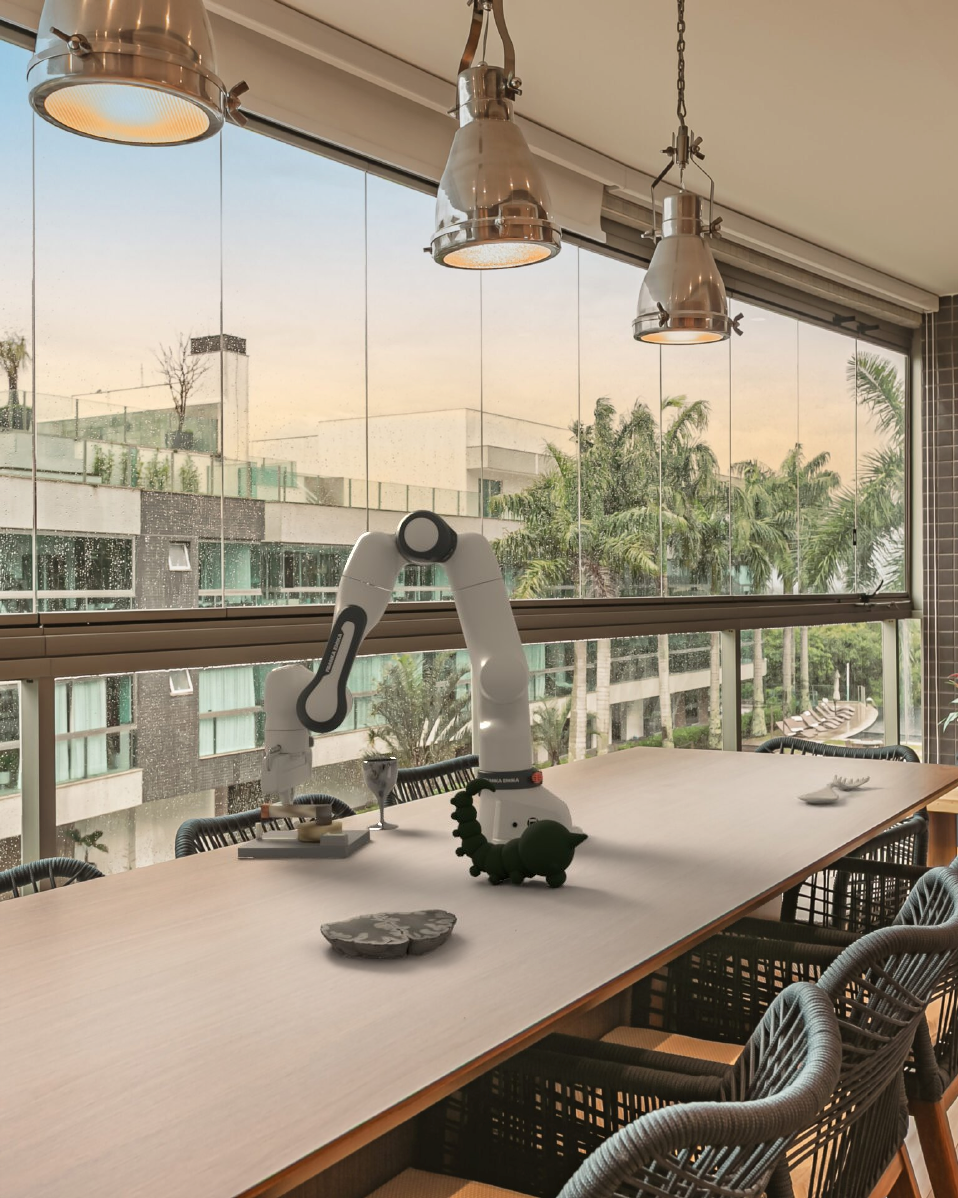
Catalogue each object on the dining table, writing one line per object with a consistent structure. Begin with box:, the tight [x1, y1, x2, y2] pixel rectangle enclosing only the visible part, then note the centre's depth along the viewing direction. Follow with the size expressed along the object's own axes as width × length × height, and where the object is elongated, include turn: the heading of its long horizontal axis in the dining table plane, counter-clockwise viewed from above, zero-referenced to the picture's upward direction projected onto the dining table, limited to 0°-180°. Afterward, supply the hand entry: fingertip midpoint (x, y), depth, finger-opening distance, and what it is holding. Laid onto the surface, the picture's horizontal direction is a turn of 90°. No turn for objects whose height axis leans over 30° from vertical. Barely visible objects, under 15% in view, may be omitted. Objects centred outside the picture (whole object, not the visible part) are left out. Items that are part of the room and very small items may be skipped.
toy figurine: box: [449, 777, 589, 889], centre depth 193 cm, size 9×19×25 cm
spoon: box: [796, 774, 870, 805], centre depth 269 cm, size 9×32×4 cm, turn 145°
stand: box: [237, 822, 371, 859], centre depth 230 cm, size 22×18×5 cm
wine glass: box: [361, 756, 399, 831], centre depth 251 cm, size 8×8×15 cm
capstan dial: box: [260, 802, 343, 842], centre depth 231 cm, size 17×9×6 cm, turn 73°
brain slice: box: [320, 909, 458, 960], centre depth 159 cm, size 20×17×3 cm
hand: (287, 809), depth 233 cm, fingers closed
